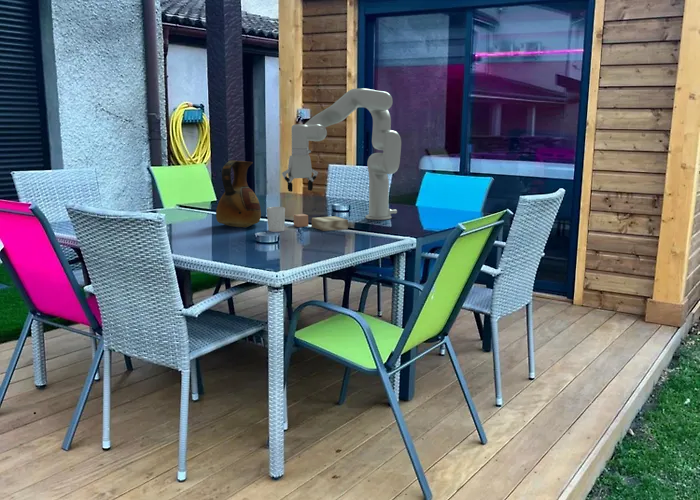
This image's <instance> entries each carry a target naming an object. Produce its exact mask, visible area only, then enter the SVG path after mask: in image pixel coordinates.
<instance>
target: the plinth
mask: <svg viewBox="0 0 700 500" xmlns="http://www.w3.org/2000/svg"><path fill="white" fill-rule="evenodd" d="M311 228H314V229H317V230H320V231H322V232H323V231H324V232H325V231H326V232H327V231H338V230H347V229H348V228H349V220H348V219H347V218H343V217H339V216H335V215H334V216H333V215H332V216H331V215H330V216H321V217H320V216H319V217H311ZM348 230H349V229H348Z"/></svg>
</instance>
